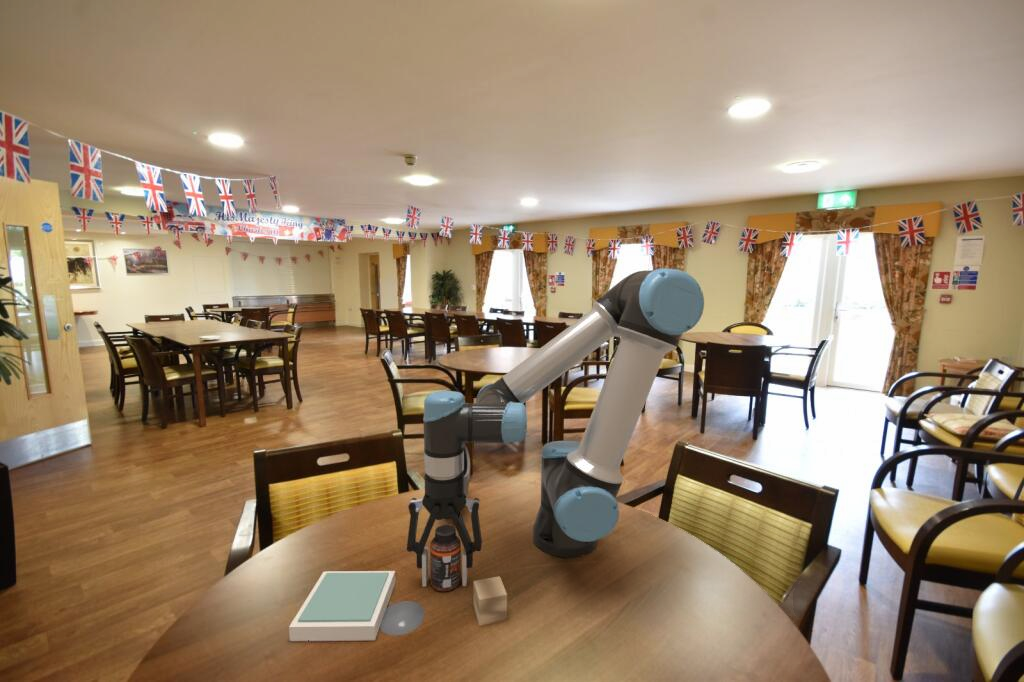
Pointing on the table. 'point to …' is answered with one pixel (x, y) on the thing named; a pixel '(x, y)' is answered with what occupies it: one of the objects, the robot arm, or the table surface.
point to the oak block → (490, 600)
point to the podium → (344, 607)
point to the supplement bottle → (445, 559)
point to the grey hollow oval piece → (466, 470)
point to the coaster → (402, 618)
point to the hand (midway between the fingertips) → (445, 581)
